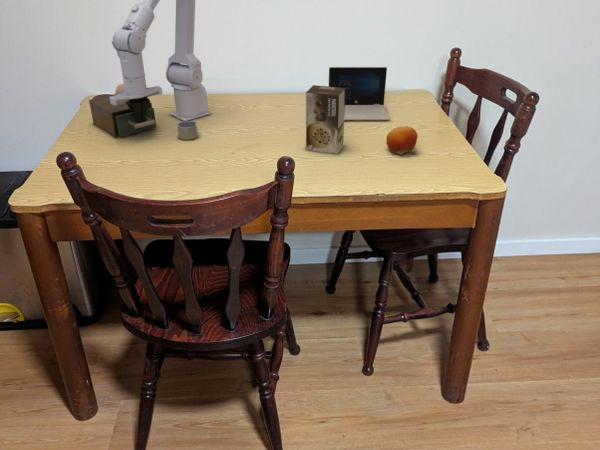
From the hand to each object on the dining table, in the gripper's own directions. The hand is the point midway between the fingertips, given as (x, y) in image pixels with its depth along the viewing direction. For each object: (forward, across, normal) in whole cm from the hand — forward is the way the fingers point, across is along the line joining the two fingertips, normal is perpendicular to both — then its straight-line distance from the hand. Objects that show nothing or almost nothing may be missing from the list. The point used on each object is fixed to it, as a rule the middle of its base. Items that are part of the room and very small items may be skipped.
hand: (141, 124), depth 156 cm
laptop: (+4, -59, +28) cm, 65 cm away
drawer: (+3, 0, -6) cm, 7 cm away
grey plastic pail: (+4, -10, +9) cm, 13 cm away
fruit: (+4, -47, +54) cm, 72 cm away
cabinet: (+4, 0, -11) cm, 12 cm away
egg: (+4, -9, -28) cm, 30 cm away
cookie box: (+4, -33, +40) cm, 52 cm away
